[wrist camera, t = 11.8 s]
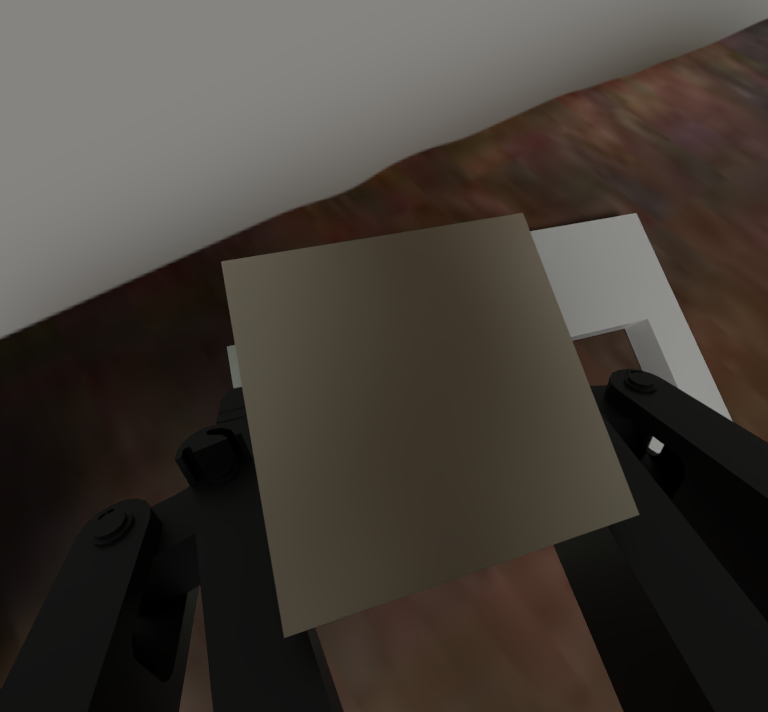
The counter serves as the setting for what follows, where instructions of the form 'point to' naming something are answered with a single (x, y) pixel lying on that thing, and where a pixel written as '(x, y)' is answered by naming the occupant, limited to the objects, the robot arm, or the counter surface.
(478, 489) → the peg
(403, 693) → the counter surface
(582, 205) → the counter surface
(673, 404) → the robot arm
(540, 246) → the plate with hole
